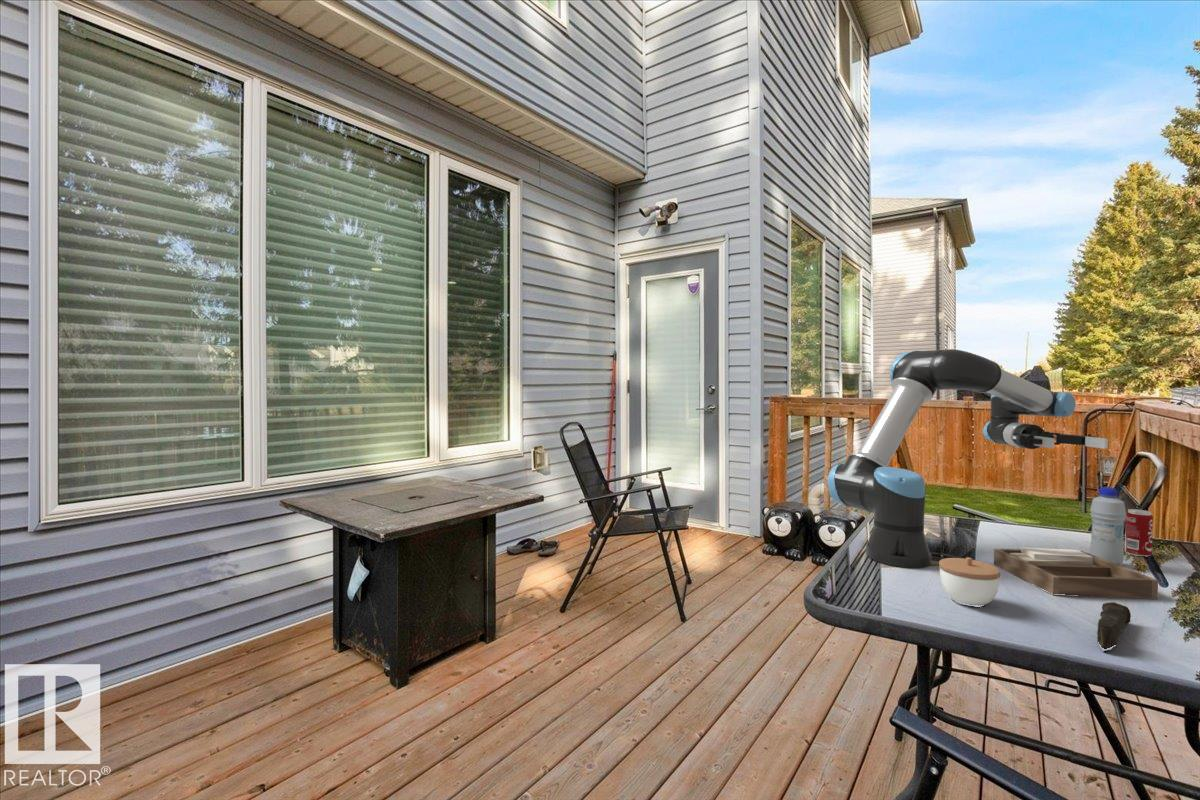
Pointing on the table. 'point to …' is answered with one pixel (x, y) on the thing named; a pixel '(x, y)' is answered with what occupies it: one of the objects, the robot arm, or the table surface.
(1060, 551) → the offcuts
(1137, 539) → the soda can
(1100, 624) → the dark brown lumpy bar
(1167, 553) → the table surface
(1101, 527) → the bottle
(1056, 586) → the tray
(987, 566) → the lidded jar
